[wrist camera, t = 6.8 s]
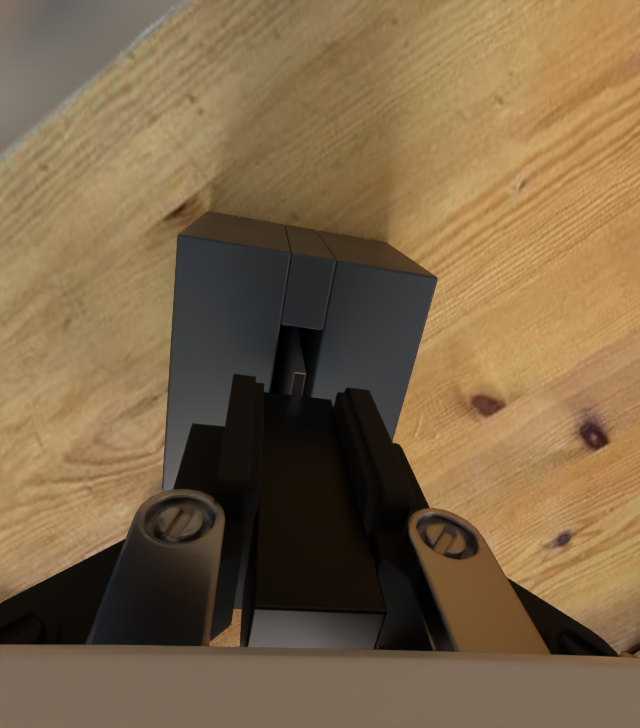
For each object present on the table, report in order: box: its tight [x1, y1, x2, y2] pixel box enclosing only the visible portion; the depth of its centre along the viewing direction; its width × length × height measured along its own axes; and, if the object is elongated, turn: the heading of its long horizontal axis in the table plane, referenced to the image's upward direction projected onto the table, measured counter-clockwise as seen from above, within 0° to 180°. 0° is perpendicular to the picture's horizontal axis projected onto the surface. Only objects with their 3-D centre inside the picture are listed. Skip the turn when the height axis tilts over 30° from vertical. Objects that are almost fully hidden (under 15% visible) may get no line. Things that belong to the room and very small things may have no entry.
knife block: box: [162, 212, 438, 491], centre depth 16 cm, size 7×8×6 cm
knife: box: [240, 324, 387, 650], centre depth 13 cm, size 2×3×14 cm, turn 170°
